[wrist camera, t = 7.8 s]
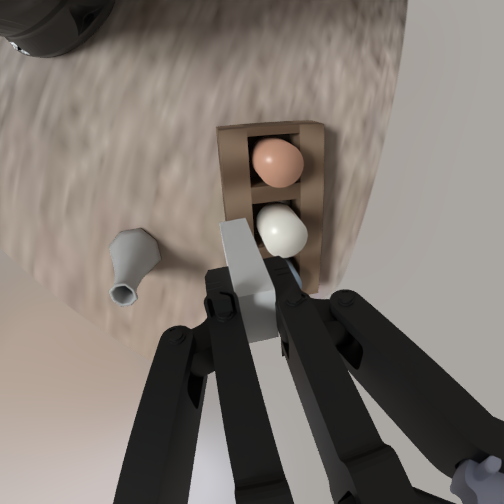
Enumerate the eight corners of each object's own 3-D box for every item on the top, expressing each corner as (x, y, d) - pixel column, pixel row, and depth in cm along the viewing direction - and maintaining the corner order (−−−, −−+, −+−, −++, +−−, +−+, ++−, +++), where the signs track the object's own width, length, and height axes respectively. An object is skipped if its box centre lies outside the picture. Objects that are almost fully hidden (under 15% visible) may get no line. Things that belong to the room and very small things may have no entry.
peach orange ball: (248, 137, 34) (256, 144, 29) (289, 134, 34) (303, 141, 30) (250, 177, 36) (259, 190, 32) (290, 173, 37) (303, 185, 33)
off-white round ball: (254, 204, 37) (263, 220, 32) (294, 199, 37) (308, 215, 33) (257, 240, 39) (265, 260, 35) (294, 235, 40) (307, 254, 35)
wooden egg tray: (216, 126, 34) (218, 130, 30) (311, 120, 35) (324, 124, 32) (233, 290, 46) (237, 307, 43) (309, 277, 47) (318, 292, 44)
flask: (142, 218, 38) (129, 257, 29) (170, 260, 42) (166, 305, 33) (100, 242, 38) (80, 284, 30) (129, 280, 42) (118, 327, 33)
